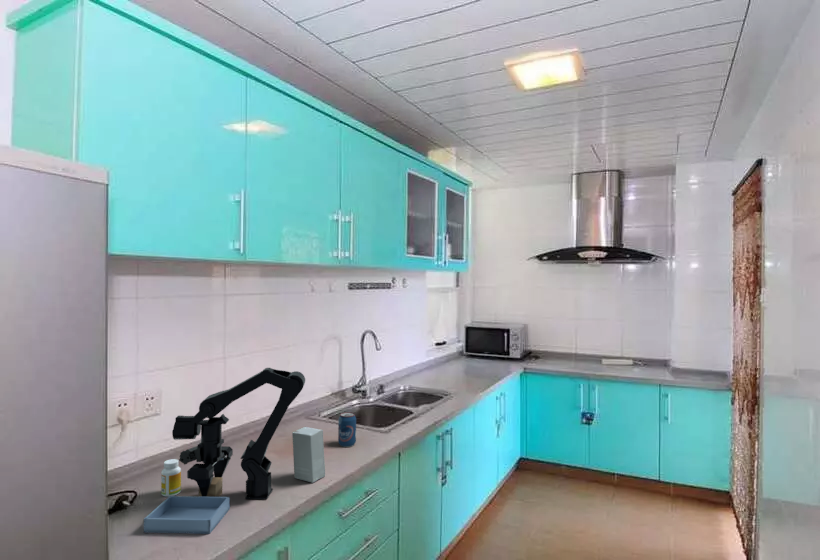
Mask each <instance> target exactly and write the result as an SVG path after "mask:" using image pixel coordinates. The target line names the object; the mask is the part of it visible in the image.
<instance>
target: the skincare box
mask: <svg viewBox="0 0 820 560" xmlns="http://www.w3.org/2000/svg"><path fill="white" fill-rule="evenodd" d="M291 438H292V452H293V453H292V455H293V472H294V473H293V475H294V479H297V480H301V481H305V482H309V483H312V484H313V483H315V482H316V481H318V480H320V479H322V478H324V477H326V468H325V467H326V464H325V446H324V445H325V444H324V430H323V429H319V428H313V427H308V426H304V427H302V428H298V429H297V430H295V431H293V432H292V435H291Z"/></svg>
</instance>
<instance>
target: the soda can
mask: <svg viewBox="0 0 820 560" xmlns="http://www.w3.org/2000/svg"><path fill="white" fill-rule="evenodd" d="M337 420H338V421H337V422H338V424H337V425H338V428H337V429H338V431H337V432H338V434H337V435H338V437H337V443H338V444H339V446H340V447H342V448H350V447H351V448H352V447H354V446H355V444H356V442H357V416H356V413H354V412H352V411H351V412H349V411H347V412H342V413H340V414H339V417H338V419H337Z"/></svg>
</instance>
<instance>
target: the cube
mask: <svg viewBox="0 0 820 560" xmlns="http://www.w3.org/2000/svg"><path fill="white" fill-rule="evenodd" d="M223 482H224V481H223V476H222V477H214V476H213V479H212V482H211V485H210V488H209V491H208V494H207V497H222V495H223ZM198 496H202V495H201V492H200V489H199V488H198Z"/></svg>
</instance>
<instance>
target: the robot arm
mask: <svg viewBox="0 0 820 560" xmlns="http://www.w3.org/2000/svg"><path fill="white" fill-rule="evenodd" d="M305 383H306V378H305V375H304V374H303V373H302V372H301V371H295V370H294V371H288V370H280V369H275V368H271V367H265V368H264V369H263V370H262V371H259V372H257V373H255V374H254V375H252V376H251V377H249V378H247V379H245V380H243V381H241V382H239V383H238V384H236V385H234V386H233V387H230V388H228V389H225V390H220V391H218V392H215V393H212V394H209V395H208V396H207V397H206V398H204V399H203V400H202V401H201V402H200V404H199V406H198V412H197V413H196V414H195V415H177V416H176V417H175V419H174V420H175V421H174V425H173V428H172V433H171V434H172V439H173V440H175V441H177V440H179V441H180V440H196V438H197V436H200V442H199V443H198V444H197V445H196V446H193V447H191V448H188V449H186V450H182V451H181V452H180V454H179V459H178V461H179V462H181V463H182V464H183V465H184V466H185V465H187V464H188V463H191V462H194V461H196V463H195V464H193V465H192V466H191V467H190V468H189V469H188V470H187V471H186V478H187V479H188V480H189V479H190V480H191V481H192V480H194V481H195V482H196V483H197V486H198V490H199V489H200V492H201V495H202V496H203V497H207V494H208V491H209V488H210V485H211V482H212V479H213V477H223V476H224V473H225V472H226V469H227V467H228V465H229V462H230V461H231V457H232V456H234V454H233V451H234V450H233V448H232V447H231V445H230V446H223V443H225V438H222V433H223V432H222V431H223V427H222V426H223V425H226V424H227V423H228V422H229V421H230V419H229V417H227V416H225V414H224V413H222V414H221V415H220V416H217V415H218V414H220V413H221V412H222V411H224V409H227V407H229V406H230V405H231V404H233V402H235V401H237V400H238V399H240V398H242V397H244V396H246V395H248V394H249V393H252V392H253V391H255V390H257V389H259V388H260V387H262V386H264V385H266V384H269V385H271V386H274V387H277V388H278V389H281V392H280V395H279V398H278V401H277V403H276V405H275V406H274V408H273V410H272V412H271V413H270V416H269V417H268V419H267V421H266V423H265V425H264V426H263V429H262V431H261V432H260V434H259V435H258V437H257V438H256V440H255V441H254V440H253V439H250V441H249V442H248V444H247V446H246V448H245V450H244V452H243V453H242V455H241V456H240V459H241V462H240V467H241V470H242V471H243V472H245V473H246V474H245V475H246V476H247V479H246V481H245V494H246V495H245V499H246V500H267V499H268V498H269V497H270V495H271V494H272V492H273V490H274V488H273V487H272V472H271V471H269V470H270V469H271V465H272V461H271V460H270V459H269V458H268V457H266V454H267V450H268V447H269V445H270V442H271V440H272V438H273V436H274V434H275V432H276V431H277V429H278V427H279V425H280V423H281V422H282V419H283V418H284V416H285V414H286V412H287V411H288V409H289V406H290V405H291V404H292V403H293V402H294V401H295V399H296V398H297V397H298V396H299V394H300V393H301V391H302V390H303V389H304V386H305ZM201 462H202V463H201Z"/></svg>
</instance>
